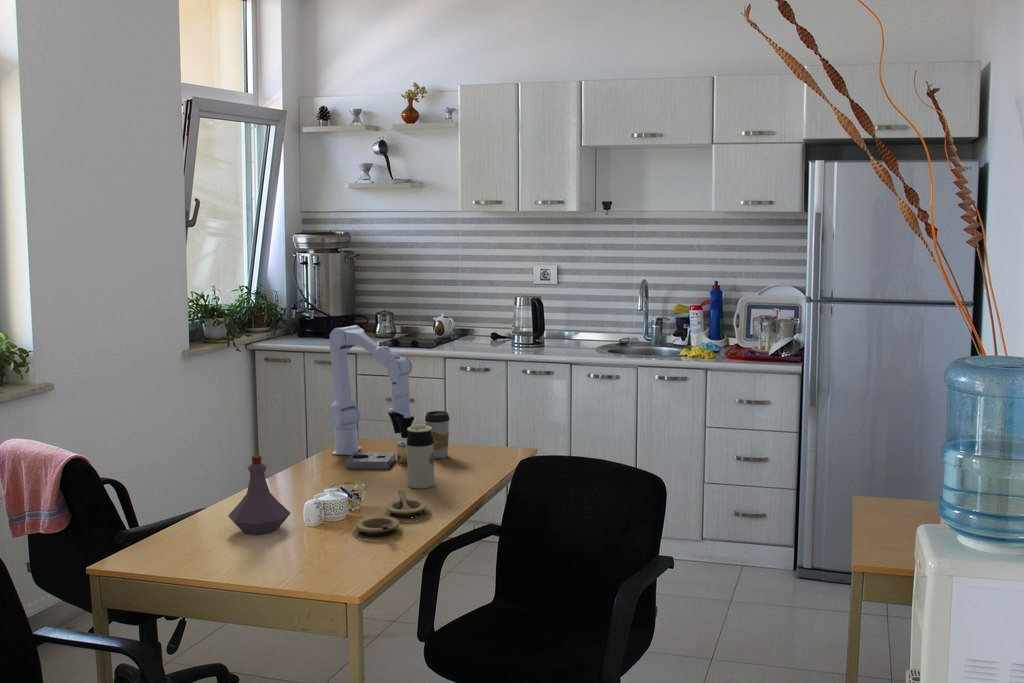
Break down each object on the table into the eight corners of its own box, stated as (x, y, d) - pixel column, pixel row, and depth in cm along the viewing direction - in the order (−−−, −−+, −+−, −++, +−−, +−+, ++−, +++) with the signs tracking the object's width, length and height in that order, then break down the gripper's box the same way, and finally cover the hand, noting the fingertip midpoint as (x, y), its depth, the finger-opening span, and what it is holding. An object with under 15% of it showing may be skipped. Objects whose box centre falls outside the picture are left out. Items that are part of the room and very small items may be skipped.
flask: (266, 516, 285) (262, 446, 283) (304, 527, 275) (301, 455, 272) (215, 531, 273) (211, 458, 270) (253, 544, 263) (249, 468, 260)
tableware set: (387, 506, 295) (387, 486, 295) (449, 513, 288) (449, 493, 287) (333, 539, 268) (332, 517, 267) (400, 548, 261) (399, 525, 260)
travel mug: (403, 487, 312) (401, 429, 309) (417, 480, 319) (415, 424, 316) (425, 490, 308) (423, 431, 306) (439, 483, 315) (437, 426, 313)
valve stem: (398, 461, 343) (398, 441, 342) (410, 461, 342) (410, 441, 341) (396, 464, 339) (395, 443, 338) (408, 464, 338) (407, 444, 337)
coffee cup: (422, 458, 345) (420, 415, 343) (431, 452, 353) (430, 410, 351) (445, 460, 343) (444, 416, 341) (454, 454, 351) (453, 411, 349)
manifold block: (354, 459, 346) (354, 452, 346) (395, 459, 345) (395, 452, 344) (345, 468, 334) (345, 461, 334) (387, 469, 333) (387, 461, 333)
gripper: (382, 392, 342) (383, 432, 344) (395, 399, 329) (396, 441, 331) (402, 390, 345) (403, 429, 347) (416, 397, 332) (417, 438, 333)
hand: (401, 435), depth 339 cm, fingers open, 7 cm apart
